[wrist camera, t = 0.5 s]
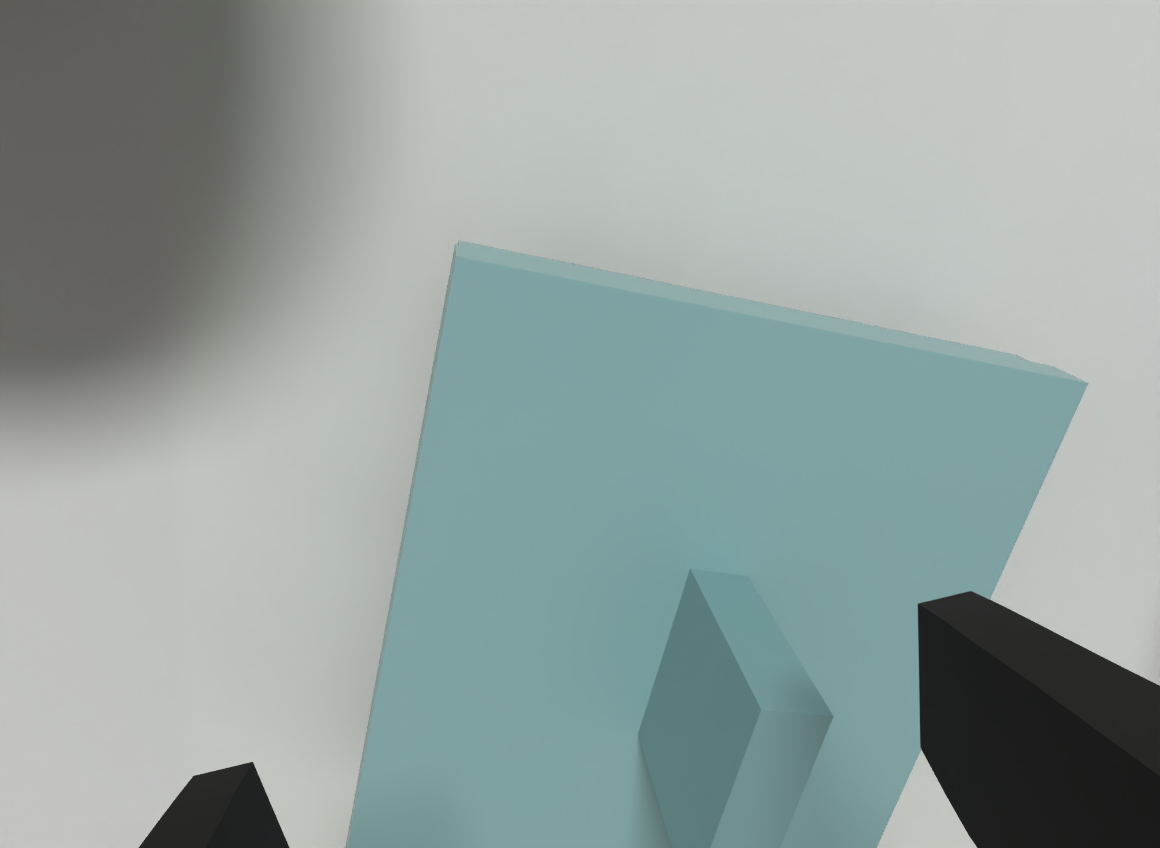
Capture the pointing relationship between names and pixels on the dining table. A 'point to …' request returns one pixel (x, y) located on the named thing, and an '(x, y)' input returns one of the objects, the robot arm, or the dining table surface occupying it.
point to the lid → (680, 563)
